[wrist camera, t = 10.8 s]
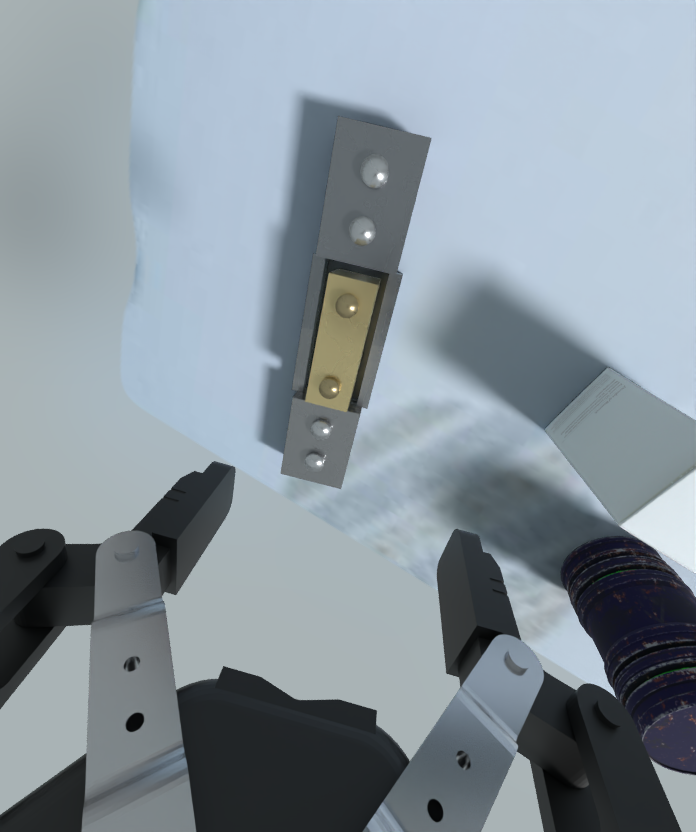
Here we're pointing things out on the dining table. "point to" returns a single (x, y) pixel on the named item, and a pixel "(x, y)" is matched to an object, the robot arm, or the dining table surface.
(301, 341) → the chain end
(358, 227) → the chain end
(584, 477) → the supplement box
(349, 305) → the link
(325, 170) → the dining table surface
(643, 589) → the dark purple cylinder
